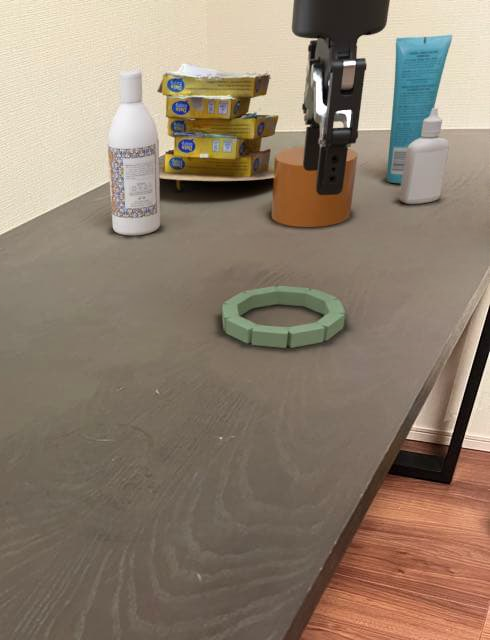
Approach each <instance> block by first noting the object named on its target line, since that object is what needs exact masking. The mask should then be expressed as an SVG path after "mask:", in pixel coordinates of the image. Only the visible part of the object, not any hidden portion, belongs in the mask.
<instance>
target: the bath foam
mask: <svg viewBox="0 0 490 640" xmlns="http://www.w3.org/2000/svg"><path fill="white" fill-rule="evenodd" d="M142 75H143V73H142V70H139V69H129V70H123V71H120V72H119V74H118V78H119V98H120V103H119V106H118V108H117V110H116V113H115V114H114V116H113V118H112V121H111V123H110V126H109V130H108V136H107V155H108V173H109V189H110V207H111V208H110V209H111V218H112V219H111V222H112V230H113V231H114V232H115V233H117V234H119V235H123V236H143V235H147V234H151V233H153V232H156V231H157V230H158V229H159V228H160V226H161V188H160V186H161V185H160V182H161V181H160V178H159V165H160V143H159V142H160V140H159V134H158V133H159V132H158V129H157V125H156V123H155V119H154V118H153V116H152V115H151V114H150V112H149V110H148V108H147V107H146V105H145V104H144V101H143V76H142Z"/></svg>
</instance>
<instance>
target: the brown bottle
mask: <svg viewBox="0 0 490 640" xmlns="http://www.w3.org/2000/svg"><path fill="white" fill-rule="evenodd" d="M304 148H305V145H304V146H298V147H292V148H287V149H284V150H281V151H279V152H278V153H276V154H275V156H274V165H273V166H274V167H273V169H274V178H272V179H273V180H272V181H273V182H272V195H271V196H272V197H271V210H270V211H271V212H270V213H271V214H270V217H271V219H272V220H273V221H275V222H276V223H278V224H281V225H285V226H289V227H297V228H320V227H329V226H332V225H333V226H334V225H337V224H340V223H343V222H345V221H347V220H348V219H349V218H350V216H351V211H352V202H353V193H354V186H355V176H356V170H357V162H358V152H357V151H356V150H354V149H352V148H348V151H347V159H346V167H345V175H344V182H343V189H342V191H341V193H339V194H337V195H319V194H318V193H317V191H316V179H317V170H316V171H307V170H305V169H304V167H303V158H304Z"/></svg>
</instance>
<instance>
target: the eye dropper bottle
mask: <svg viewBox="0 0 490 640" xmlns="http://www.w3.org/2000/svg"><path fill="white" fill-rule="evenodd" d="M442 124H443V118H440V117H439V111H438V107H434V108H432V110H431V113H430V116H429V117H428V118H426V119H424V120H423V126H422V132H421V136H422V137H421V138H419V139H417V140H415V141H413V142H412V143H411V144H410V145H409V146H408V148H407V152H406V158H405V164H404V170H403V176H402V182H401V184H400V187H399V188H400V189H399V195H398V200H399V201H400V202H401V203H403V204H406V205H419V204H420V205H421V204H427V203H428V204H429V203H431V202H435V201H438V200H439V199H440V197H441V193H442V189H443V184H444V178H445V172H446V167H447V163H448V162H447V161H448V155H449V149H450V142H449V141H448V140H447V139H445V138H443V137H440V136H441V135H440V134H441V129H442Z"/></svg>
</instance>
